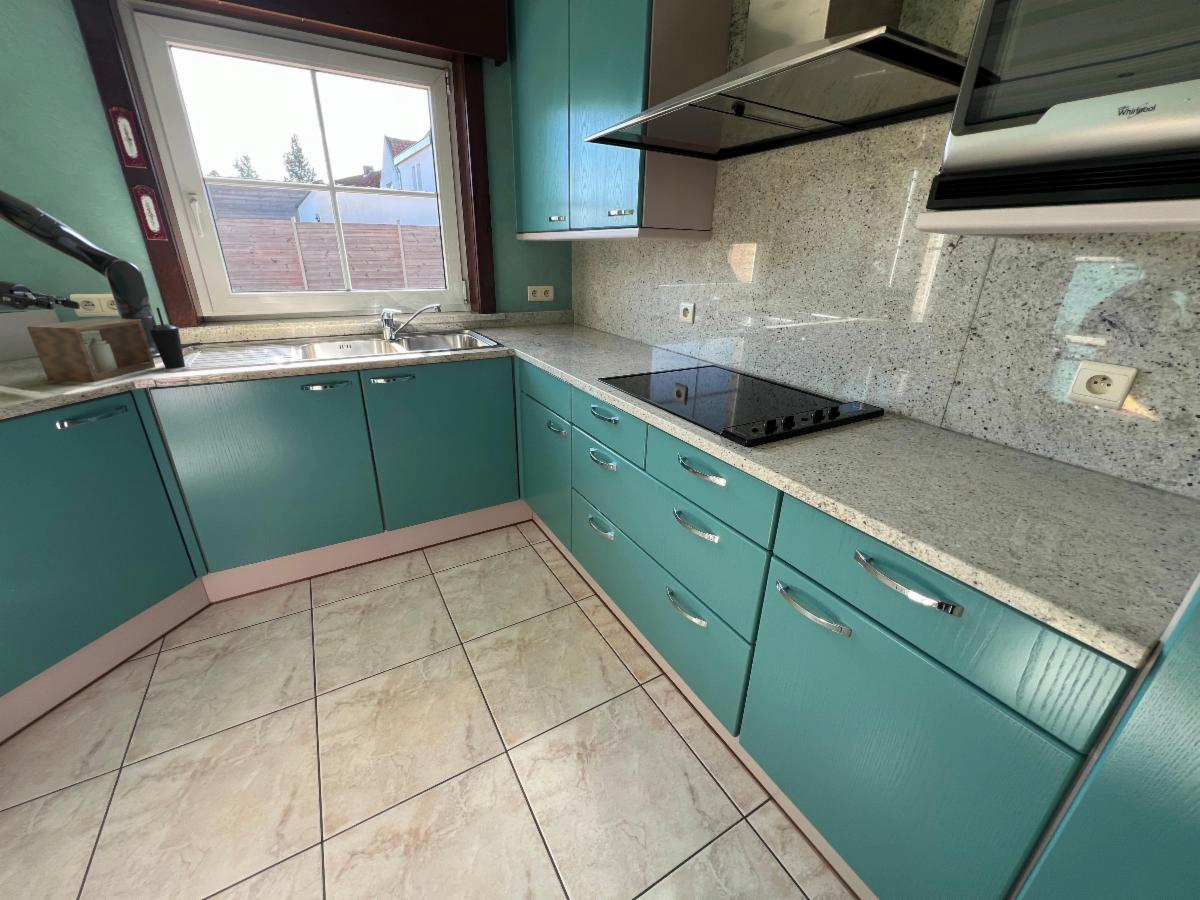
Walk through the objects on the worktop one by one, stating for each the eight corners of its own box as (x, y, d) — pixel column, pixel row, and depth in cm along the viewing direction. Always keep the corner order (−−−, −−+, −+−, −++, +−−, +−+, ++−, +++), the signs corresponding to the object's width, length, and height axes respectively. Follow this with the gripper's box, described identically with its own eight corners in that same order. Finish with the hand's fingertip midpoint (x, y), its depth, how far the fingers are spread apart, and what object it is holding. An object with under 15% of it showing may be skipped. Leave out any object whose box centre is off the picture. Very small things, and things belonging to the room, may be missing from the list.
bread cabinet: (49, 383, 143) (26, 326, 137) (115, 369, 161) (98, 318, 155) (95, 385, 142) (74, 328, 136) (156, 370, 161) (140, 319, 155)
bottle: (112, 370, 154) (100, 335, 150) (123, 372, 153) (111, 336, 149) (92, 374, 150) (78, 337, 146) (103, 375, 148) (90, 339, 144)
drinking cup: (174, 367, 165) (156, 306, 158) (196, 368, 165) (179, 307, 158) (154, 372, 158) (134, 308, 151) (177, 373, 158) (158, 309, 151)
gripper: (-25, 279, 137) (41, 293, 140) (26, 281, 151) (86, 293, 153) (-22, 306, 139) (44, 319, 142) (28, 306, 153) (87, 317, 155)
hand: (65, 305), depth 148 cm, fingers open, 8 cm apart
